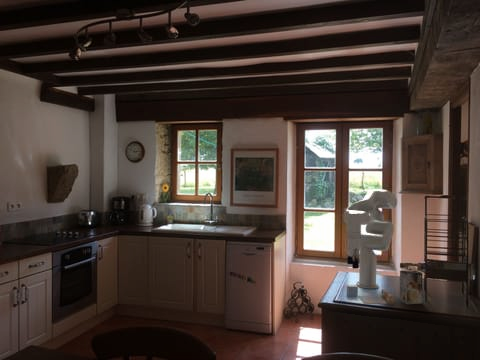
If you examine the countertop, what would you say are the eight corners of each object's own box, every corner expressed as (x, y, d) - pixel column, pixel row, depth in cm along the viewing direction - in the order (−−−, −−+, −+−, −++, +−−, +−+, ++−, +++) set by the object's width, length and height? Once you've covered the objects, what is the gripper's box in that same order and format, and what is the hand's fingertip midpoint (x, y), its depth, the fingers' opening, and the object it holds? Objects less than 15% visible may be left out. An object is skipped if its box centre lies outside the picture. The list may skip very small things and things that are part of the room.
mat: (357, 296, 204) (357, 295, 204) (380, 297, 204) (380, 296, 204) (363, 303, 193) (363, 302, 193) (387, 303, 193) (387, 303, 193)
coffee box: (414, 299, 201) (415, 269, 201) (422, 303, 194) (423, 272, 194) (399, 300, 199) (399, 270, 199) (406, 304, 193) (407, 273, 192)
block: (346, 294, 207) (346, 284, 207) (355, 295, 207) (355, 284, 207) (348, 297, 203) (348, 286, 203) (357, 297, 203) (357, 286, 203)
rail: (381, 296, 205) (381, 289, 204) (385, 296, 204) (385, 289, 204) (389, 304, 193) (389, 296, 192) (393, 304, 192) (393, 296, 192)
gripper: (342, 232, 213) (341, 262, 213) (351, 237, 196) (350, 270, 196) (355, 232, 213) (355, 262, 213) (365, 237, 196) (364, 270, 196)
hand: (352, 266), depth 205 cm, fingers open, 9 cm apart
